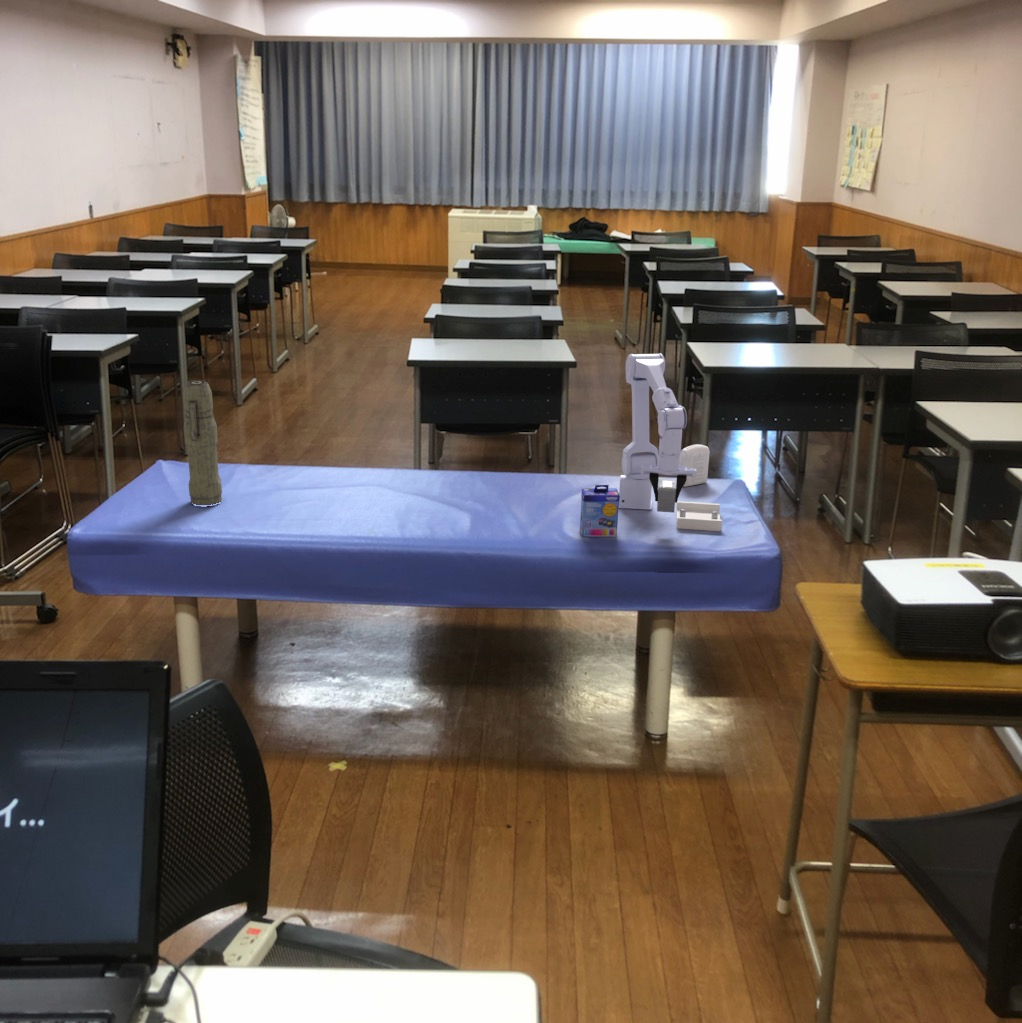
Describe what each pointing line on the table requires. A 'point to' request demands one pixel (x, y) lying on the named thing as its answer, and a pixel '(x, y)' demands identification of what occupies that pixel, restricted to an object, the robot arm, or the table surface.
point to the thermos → (201, 444)
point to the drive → (666, 495)
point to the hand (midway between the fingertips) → (666, 500)
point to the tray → (698, 516)
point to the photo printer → (695, 463)
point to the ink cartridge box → (599, 512)
